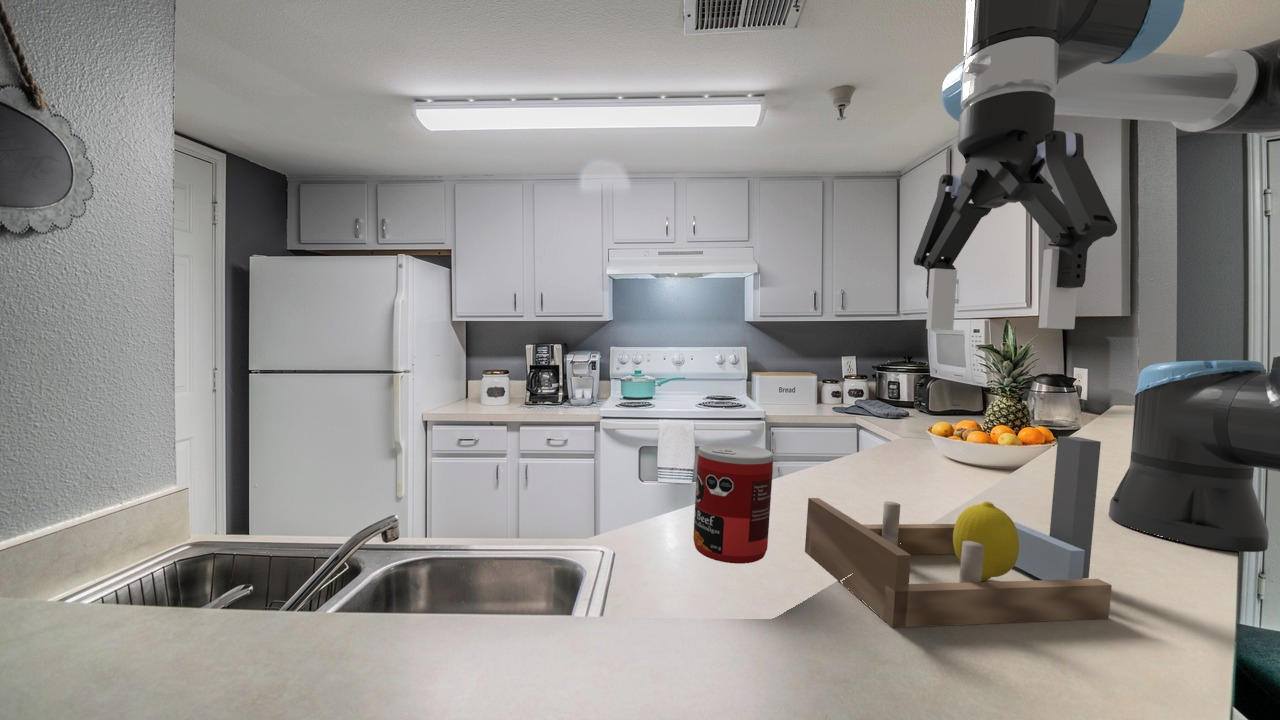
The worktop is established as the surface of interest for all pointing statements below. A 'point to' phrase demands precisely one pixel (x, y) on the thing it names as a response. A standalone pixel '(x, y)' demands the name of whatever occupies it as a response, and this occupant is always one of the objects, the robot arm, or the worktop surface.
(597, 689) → the worktop surface
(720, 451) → the canned food
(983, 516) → the lemon
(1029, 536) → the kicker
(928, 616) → the lane
